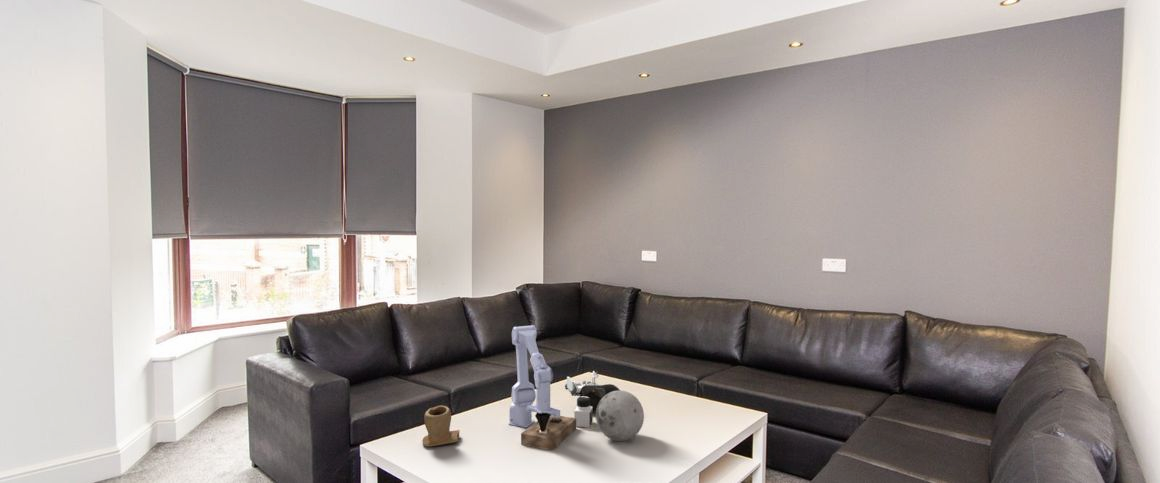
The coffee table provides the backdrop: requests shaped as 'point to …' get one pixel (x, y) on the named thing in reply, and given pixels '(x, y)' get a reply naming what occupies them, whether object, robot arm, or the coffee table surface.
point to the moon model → (619, 415)
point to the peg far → (555, 419)
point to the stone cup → (439, 427)
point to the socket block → (548, 433)
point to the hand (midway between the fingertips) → (543, 430)
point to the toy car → (577, 387)
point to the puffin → (596, 393)
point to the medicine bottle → (583, 412)
